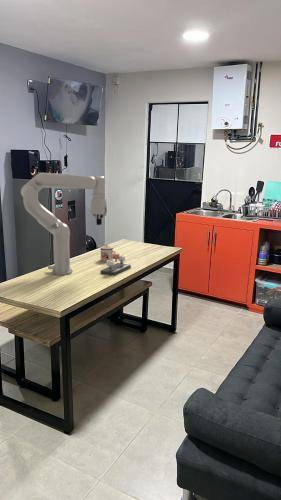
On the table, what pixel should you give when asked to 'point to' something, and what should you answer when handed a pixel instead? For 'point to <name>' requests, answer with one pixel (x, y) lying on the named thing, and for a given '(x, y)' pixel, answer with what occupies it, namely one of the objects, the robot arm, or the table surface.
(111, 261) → the knob near
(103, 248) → the teacup with lid
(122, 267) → the mount plate
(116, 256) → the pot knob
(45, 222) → the robot arm
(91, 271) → the table surface
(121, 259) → the knob far
